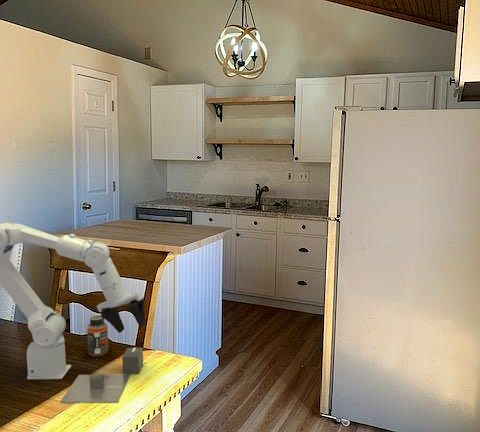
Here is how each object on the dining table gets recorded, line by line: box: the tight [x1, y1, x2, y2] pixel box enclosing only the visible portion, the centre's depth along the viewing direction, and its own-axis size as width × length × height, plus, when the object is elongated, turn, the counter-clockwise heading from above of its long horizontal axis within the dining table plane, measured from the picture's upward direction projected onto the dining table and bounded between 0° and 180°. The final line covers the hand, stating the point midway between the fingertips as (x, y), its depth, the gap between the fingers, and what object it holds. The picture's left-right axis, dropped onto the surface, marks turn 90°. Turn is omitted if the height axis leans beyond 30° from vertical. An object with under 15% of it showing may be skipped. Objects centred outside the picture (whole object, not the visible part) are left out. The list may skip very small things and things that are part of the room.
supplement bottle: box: [86, 315, 109, 358], centre depth 148 cm, size 6×6×11 cm
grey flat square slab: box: [59, 374, 131, 404], centre depth 127 cm, size 14×14×3 cm
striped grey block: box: [121, 347, 144, 375], centre depth 138 cm, size 6×4×5 cm
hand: (132, 328), depth 136 cm, fingers open, 7 cm apart
